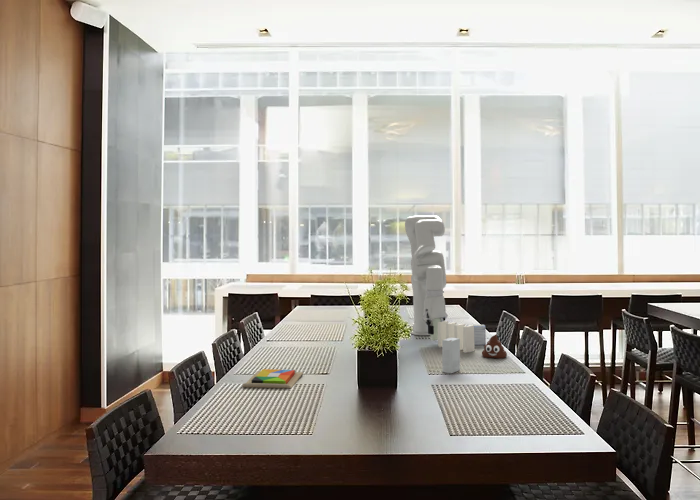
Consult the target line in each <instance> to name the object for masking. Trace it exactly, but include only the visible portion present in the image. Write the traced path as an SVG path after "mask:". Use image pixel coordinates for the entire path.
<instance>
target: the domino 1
mask: <svg viewBox="0 0 700 500" xmlns="http://www.w3.org/2000/svg"><path fill="white" fill-rule="evenodd" d="M430 321H431V320H430ZM438 322H441V320H440V318H438V319H434V320H433V325H432V326H434V334H433V335H432V334H430V335H429V336H430V341H438Z"/></svg>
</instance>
